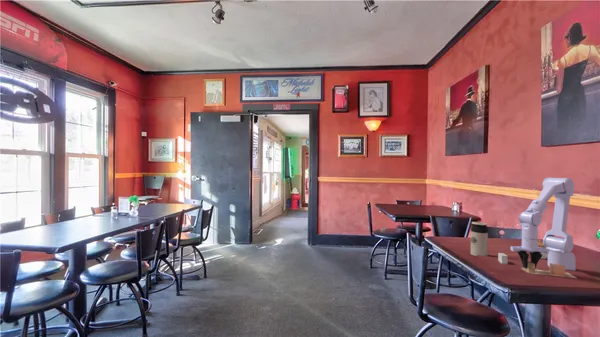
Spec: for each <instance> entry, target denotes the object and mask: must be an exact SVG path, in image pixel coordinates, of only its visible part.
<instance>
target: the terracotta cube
mask: <svg viewBox="0 0 600 337" xmlns="http://www.w3.org/2000/svg"><path fill="white" fill-rule="evenodd" d="M548 269H549V270H548V271H549V272H551V273H552V274H554V275H561V276H565V273H566V270H565V269H566V267H565V266H563V265H561V264H555V263H550V267H549V268H548ZM561 276H560V277H561Z"/></svg>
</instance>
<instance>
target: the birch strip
mask: <svg viewBox="0 0 600 337" xmlns="http://www.w3.org/2000/svg"><path fill="white" fill-rule="evenodd" d="M520 269H521V270H523V271H524V272H525V273H527V274H534V275H543V276H553V277H562V278H563V277H564V278H571V279H577V277H576V276H575V275H573V274H571V273H569V272H565V276H561V275H554V274H552V273H551V272H549V270H544V269H535V264H534V263H533V262H531V260H528V266H527V268H524V267H520Z"/></svg>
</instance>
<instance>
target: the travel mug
mask: <svg viewBox="0 0 600 337" xmlns="http://www.w3.org/2000/svg"><path fill="white" fill-rule="evenodd" d="M487 227H488V223H486V222H480V221H472V222H471V227H470V255H471V256H473V257H476V258H478V256H482V257H488V255H489V254H488V248H489V229H488V228H487Z"/></svg>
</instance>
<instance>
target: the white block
mask: <svg viewBox="0 0 600 337" xmlns="http://www.w3.org/2000/svg"><path fill="white" fill-rule="evenodd" d="M508 256H509V255H507V254H505V253H504V252H498V254H497V259H498V260H497V261H498V262H499V263H500V264H503V265H508V264H509V263H508V262H509V261H508V259H509V258H508Z"/></svg>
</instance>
